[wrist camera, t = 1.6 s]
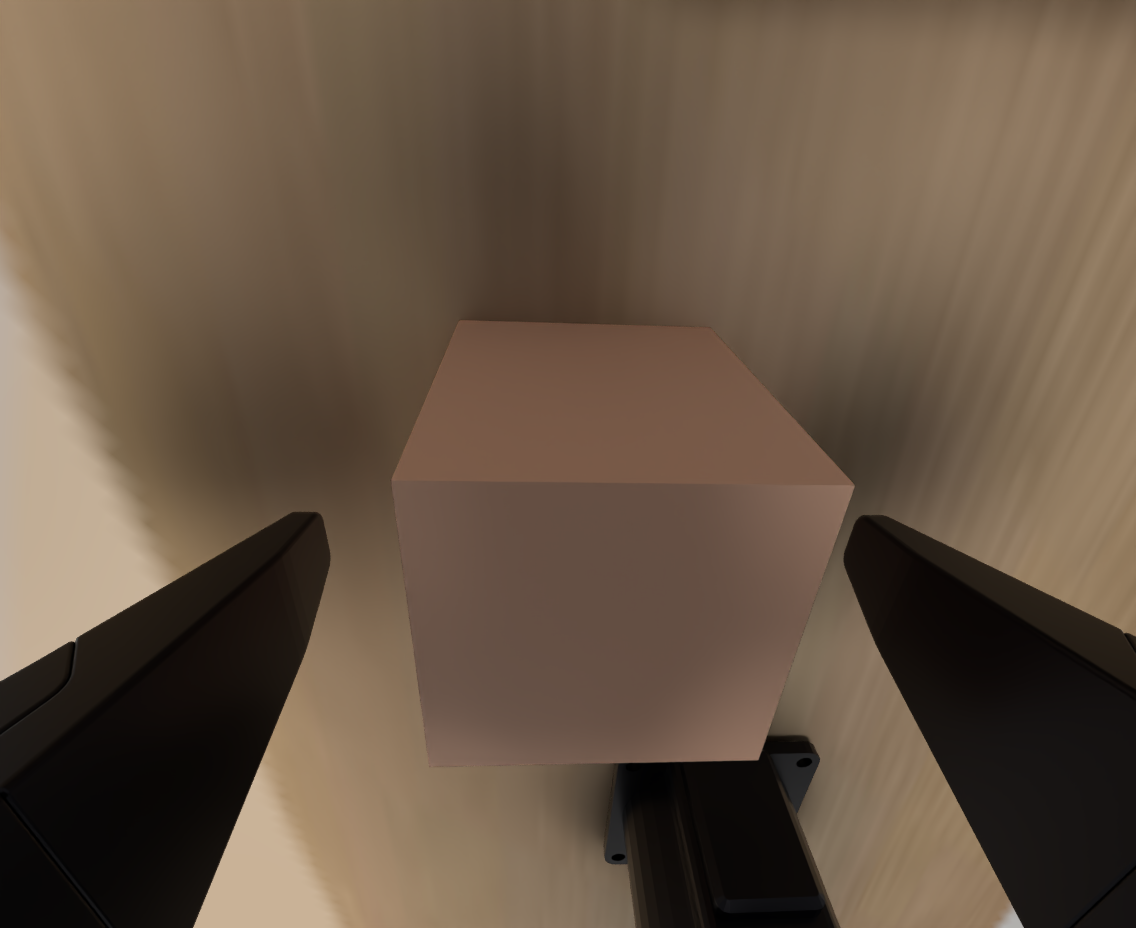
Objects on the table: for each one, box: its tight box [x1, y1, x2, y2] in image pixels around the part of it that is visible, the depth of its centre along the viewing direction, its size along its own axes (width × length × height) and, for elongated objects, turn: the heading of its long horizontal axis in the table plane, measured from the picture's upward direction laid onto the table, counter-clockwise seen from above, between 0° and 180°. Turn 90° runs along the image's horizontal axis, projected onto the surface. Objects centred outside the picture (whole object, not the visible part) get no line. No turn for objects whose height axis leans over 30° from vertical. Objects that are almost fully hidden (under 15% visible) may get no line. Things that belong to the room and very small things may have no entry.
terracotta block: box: [391, 320, 855, 767], centre depth 10 cm, size 5×5×6 cm
